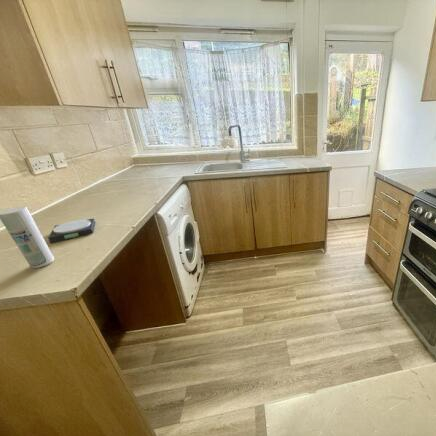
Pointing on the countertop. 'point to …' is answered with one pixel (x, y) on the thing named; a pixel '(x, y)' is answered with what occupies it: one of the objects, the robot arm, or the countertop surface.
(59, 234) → the kitchen scale
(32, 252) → the spray can
